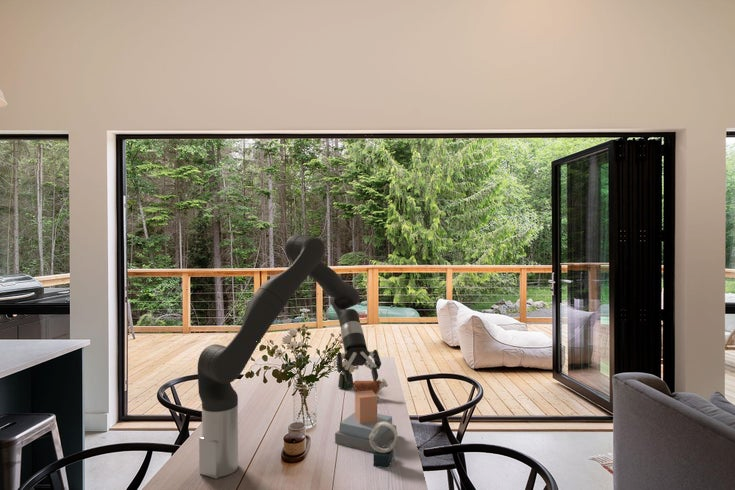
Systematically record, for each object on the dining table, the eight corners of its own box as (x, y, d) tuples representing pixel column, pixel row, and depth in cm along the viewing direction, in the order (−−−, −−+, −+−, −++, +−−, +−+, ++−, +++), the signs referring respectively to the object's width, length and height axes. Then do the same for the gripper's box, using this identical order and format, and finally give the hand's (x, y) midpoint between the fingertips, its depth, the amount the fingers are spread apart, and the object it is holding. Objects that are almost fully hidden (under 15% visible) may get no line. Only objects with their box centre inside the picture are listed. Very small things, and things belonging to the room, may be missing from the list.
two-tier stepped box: (376, 453, 137) (376, 432, 137) (335, 443, 144) (335, 423, 144) (396, 434, 150) (396, 415, 149) (357, 426, 156) (357, 408, 156)
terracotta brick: (377, 421, 145) (377, 395, 144) (359, 424, 143) (360, 397, 143) (371, 415, 150) (371, 390, 150) (355, 417, 148) (355, 391, 148)
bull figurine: (388, 401, 180) (388, 379, 179) (352, 400, 180) (352, 379, 180) (387, 397, 184) (387, 376, 184) (353, 396, 184) (353, 376, 184)
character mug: (330, 389, 193) (330, 357, 193) (336, 383, 200) (336, 353, 200) (355, 391, 190) (355, 359, 190) (361, 386, 197) (360, 355, 197)
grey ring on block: (371, 455, 135) (371, 417, 135) (398, 459, 134) (399, 420, 133) (366, 465, 130) (366, 425, 130) (395, 468, 128) (395, 428, 128)
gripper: (334, 333, 156) (343, 377, 146) (375, 330, 160) (386, 373, 150) (330, 345, 161) (338, 389, 151) (370, 342, 166) (381, 385, 155)
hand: (362, 381), depth 150 cm, fingers open, 8 cm apart
